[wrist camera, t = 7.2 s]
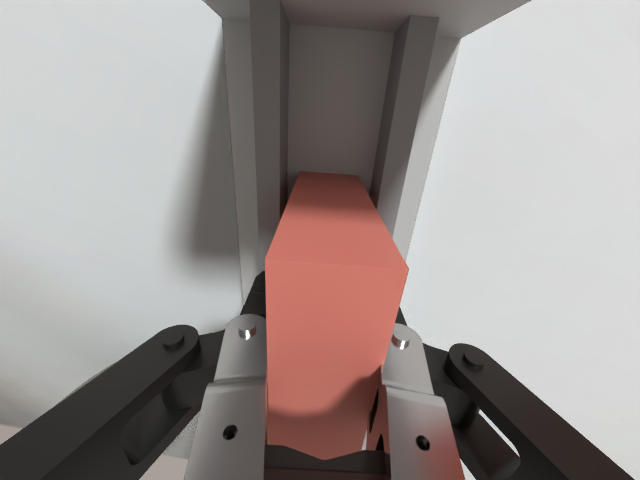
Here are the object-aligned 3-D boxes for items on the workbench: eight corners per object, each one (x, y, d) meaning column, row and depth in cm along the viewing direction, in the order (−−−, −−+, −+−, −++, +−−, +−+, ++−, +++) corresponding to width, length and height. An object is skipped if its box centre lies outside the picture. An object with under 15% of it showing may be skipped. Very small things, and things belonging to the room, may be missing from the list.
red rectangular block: (300, 171, 13) (264, 259, 5) (358, 175, 14) (408, 269, 5) (294, 318, 18) (270, 489, 10) (338, 321, 18) (349, 493, 10)
